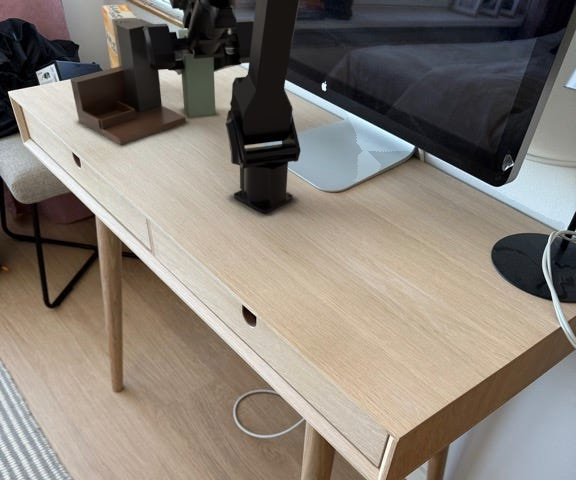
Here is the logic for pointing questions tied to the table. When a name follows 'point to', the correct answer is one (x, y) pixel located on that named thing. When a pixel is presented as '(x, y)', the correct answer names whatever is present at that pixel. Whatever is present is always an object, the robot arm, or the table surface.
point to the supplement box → (115, 28)
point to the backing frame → (124, 93)
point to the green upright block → (198, 84)
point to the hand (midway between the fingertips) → (195, 70)
